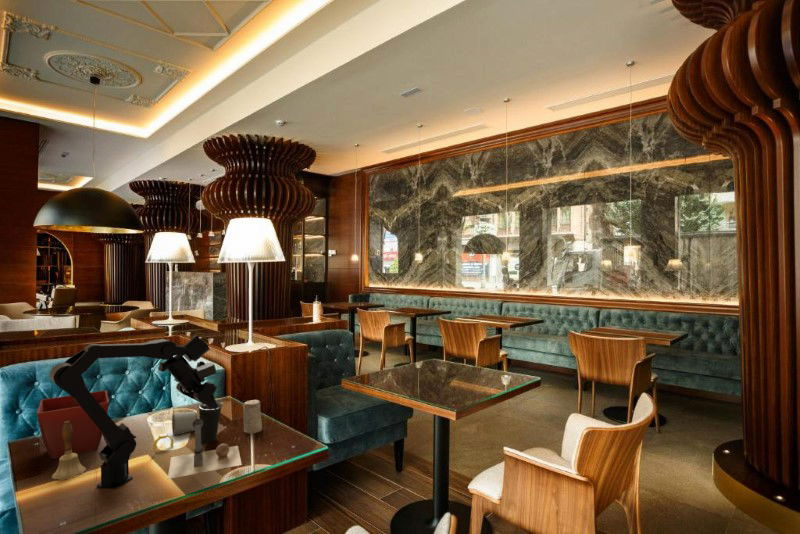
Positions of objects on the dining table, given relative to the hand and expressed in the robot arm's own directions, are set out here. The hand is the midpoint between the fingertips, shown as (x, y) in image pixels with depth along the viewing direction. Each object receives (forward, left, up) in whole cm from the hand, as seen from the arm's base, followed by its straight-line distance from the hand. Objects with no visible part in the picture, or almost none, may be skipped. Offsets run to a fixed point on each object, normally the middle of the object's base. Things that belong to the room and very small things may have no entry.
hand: (210, 405), depth 147 cm
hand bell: (-21, +34, -16) cm, 43 cm away
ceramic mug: (+16, +22, -16) cm, 31 cm away
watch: (-3, +16, -16) cm, 23 cm away
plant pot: (-5, +49, -16) cm, 52 cm away
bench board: (-10, -5, -16) cm, 19 cm away
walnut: (-7, -9, -14) cm, 18 cm away
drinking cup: (+5, +5, -15) cm, 17 cm away
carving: (+16, -6, -16) cm, 24 cm away
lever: (-11, -3, -12) cm, 16 cm away
